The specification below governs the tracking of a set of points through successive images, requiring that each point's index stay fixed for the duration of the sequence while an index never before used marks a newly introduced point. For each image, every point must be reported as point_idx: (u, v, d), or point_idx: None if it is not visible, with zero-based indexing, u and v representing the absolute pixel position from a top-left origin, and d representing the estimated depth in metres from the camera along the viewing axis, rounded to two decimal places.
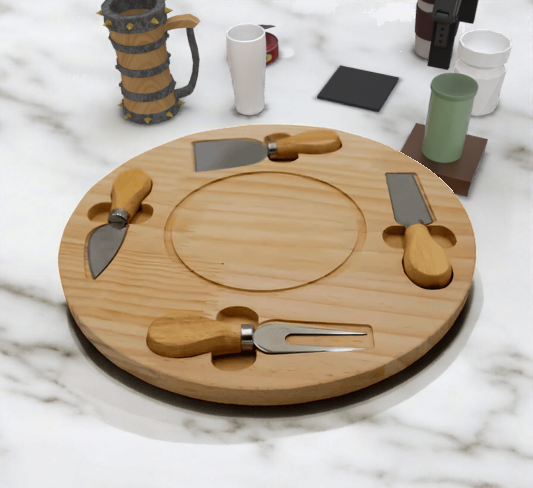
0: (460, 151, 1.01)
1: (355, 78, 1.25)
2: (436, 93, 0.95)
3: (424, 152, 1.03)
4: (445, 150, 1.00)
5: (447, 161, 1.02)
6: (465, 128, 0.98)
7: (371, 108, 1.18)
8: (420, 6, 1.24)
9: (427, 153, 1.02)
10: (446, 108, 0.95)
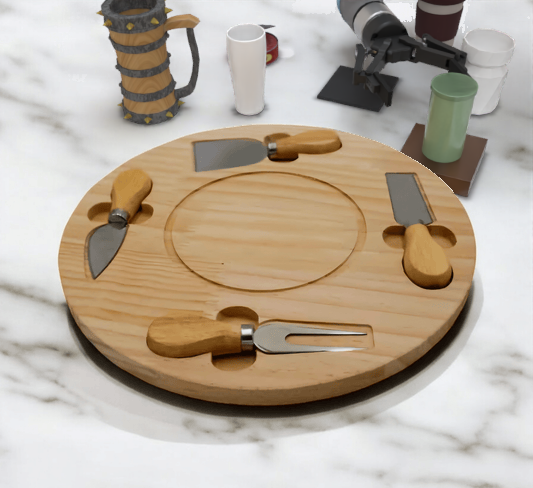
0: (460, 151, 1.01)
1: None
2: (436, 93, 0.95)
3: (424, 152, 1.03)
4: (445, 150, 1.00)
5: (447, 161, 1.02)
6: (465, 128, 0.98)
7: (371, 108, 1.18)
8: (420, 6, 1.24)
9: (427, 153, 1.02)
10: (446, 108, 0.95)
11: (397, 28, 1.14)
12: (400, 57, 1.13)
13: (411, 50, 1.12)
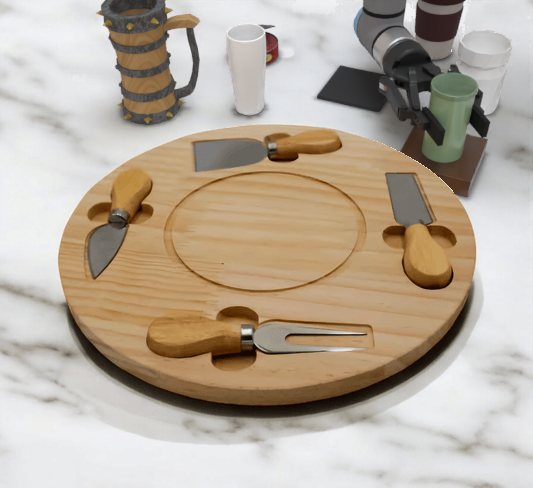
0: (460, 151, 1.01)
1: (355, 78, 1.25)
2: (436, 93, 0.95)
3: (424, 152, 1.03)
4: (445, 150, 1.00)
5: (447, 161, 1.02)
6: (465, 128, 0.98)
7: (371, 108, 1.18)
8: (420, 6, 1.24)
9: (427, 153, 1.02)
10: (446, 108, 0.95)
11: (420, 55, 1.08)
12: (424, 87, 1.06)
13: None
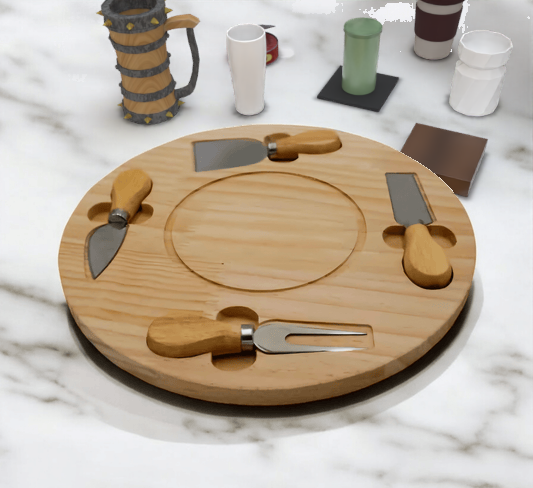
0: (364, 87, 1.20)
1: None
2: (343, 28, 1.15)
3: None
4: (349, 81, 1.20)
5: (352, 93, 1.21)
6: (366, 66, 1.17)
7: (371, 108, 1.18)
8: (420, 6, 1.24)
9: None
10: (348, 43, 1.15)
11: None
12: None
13: None
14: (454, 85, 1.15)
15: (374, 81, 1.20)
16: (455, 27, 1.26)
